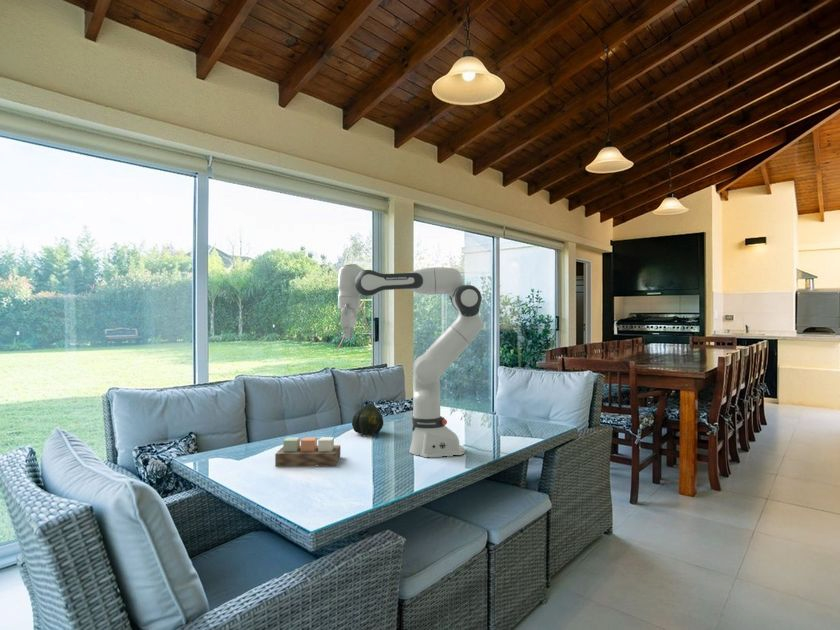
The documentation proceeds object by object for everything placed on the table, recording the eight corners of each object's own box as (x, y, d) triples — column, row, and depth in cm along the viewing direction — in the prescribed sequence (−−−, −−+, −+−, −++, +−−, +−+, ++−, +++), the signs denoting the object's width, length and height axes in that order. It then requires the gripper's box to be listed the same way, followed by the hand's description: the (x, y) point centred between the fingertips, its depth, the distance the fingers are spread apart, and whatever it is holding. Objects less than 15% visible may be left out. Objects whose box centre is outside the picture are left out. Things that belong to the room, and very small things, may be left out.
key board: (340, 456, 192) (340, 445, 192) (335, 465, 180) (335, 453, 180) (283, 457, 192) (284, 445, 192) (275, 466, 180) (275, 453, 180)
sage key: (299, 450, 188) (299, 437, 188) (296, 453, 183) (296, 440, 183) (286, 450, 188) (286, 437, 188) (283, 454, 183) (283, 440, 183)
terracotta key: (316, 450, 188) (316, 437, 188) (314, 453, 183) (314, 440, 183) (303, 450, 188) (303, 437, 188) (300, 453, 183) (300, 440, 183)
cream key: (333, 450, 188) (333, 437, 188) (331, 453, 183) (331, 440, 183) (320, 450, 188) (320, 437, 188) (318, 453, 183) (318, 440, 183)
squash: (348, 426, 221) (369, 400, 224) (345, 421, 236) (365, 397, 239) (371, 446, 223) (392, 420, 226) (367, 440, 238) (387, 415, 241)
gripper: (353, 303, 189) (353, 339, 189) (359, 305, 209) (359, 337, 209) (337, 303, 189) (336, 339, 189) (344, 305, 209) (344, 337, 209)
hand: (348, 338), depth 199 cm, fingers open, 8 cm apart
